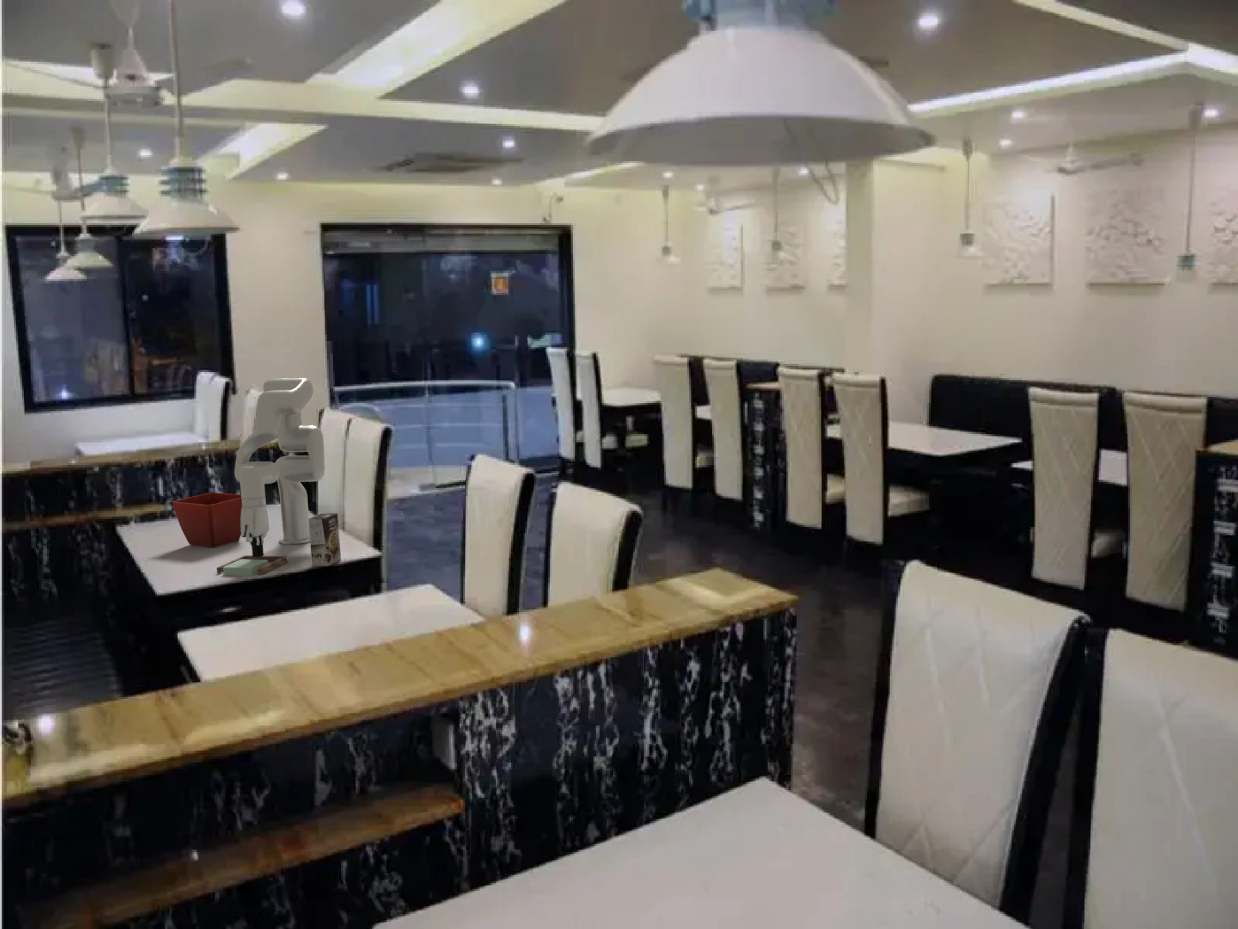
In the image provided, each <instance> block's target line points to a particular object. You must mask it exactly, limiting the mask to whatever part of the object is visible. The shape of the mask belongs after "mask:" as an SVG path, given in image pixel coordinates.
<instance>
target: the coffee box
mask: <svg viewBox="0 0 1238 929" xmlns="http://www.w3.org/2000/svg"><path fill="white" fill-rule="evenodd" d="M309 533H310V542H309V543H310V546H309V547H310V555H311V566H315V567H316V566H317V567H319V566H321V567H328V566H331V565H333V564H335V563H336V562H338V561H340V560H342V554H341V553H342V552H341V542H340V529H339V516H338V513H336V512H335V513H330V512H329V513H328V512H327V513H320V514H316V515H314V516H312V517H309Z"/></svg>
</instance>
